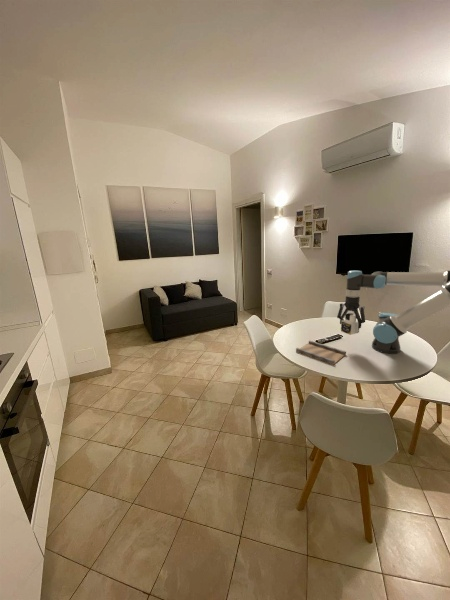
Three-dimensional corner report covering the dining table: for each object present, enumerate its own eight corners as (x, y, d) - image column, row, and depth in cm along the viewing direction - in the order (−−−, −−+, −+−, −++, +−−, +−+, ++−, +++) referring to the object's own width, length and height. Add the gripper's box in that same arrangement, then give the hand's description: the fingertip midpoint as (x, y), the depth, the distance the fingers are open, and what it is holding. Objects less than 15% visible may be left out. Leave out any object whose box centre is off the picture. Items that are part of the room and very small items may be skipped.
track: (345, 354, 147) (346, 351, 147) (333, 364, 137) (333, 361, 136) (309, 343, 165) (309, 340, 164) (296, 351, 154) (296, 348, 154)
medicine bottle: (340, 331, 155) (342, 313, 152) (348, 329, 157) (350, 311, 154) (350, 335, 148) (352, 316, 145) (358, 333, 151) (360, 314, 148)
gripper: (332, 294, 152) (330, 328, 158) (369, 299, 137) (365, 337, 142) (337, 292, 157) (335, 325, 163) (374, 297, 142) (370, 333, 147)
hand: (349, 330), depth 153 cm, fingers closed on medicine bottle, 8 cm apart
